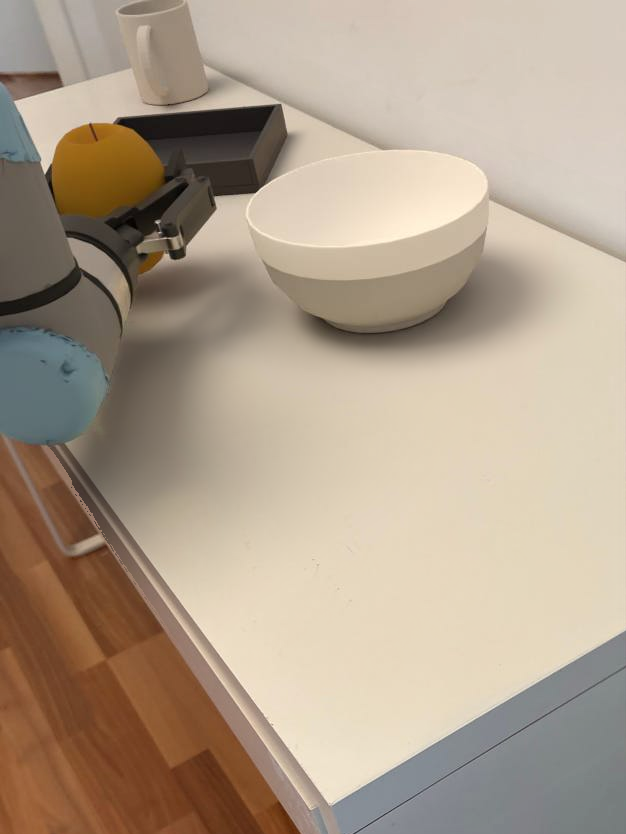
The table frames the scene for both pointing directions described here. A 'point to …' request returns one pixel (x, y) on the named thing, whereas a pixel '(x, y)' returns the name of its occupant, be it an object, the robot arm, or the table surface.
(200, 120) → the tray
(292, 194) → the bowl
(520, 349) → the table surface
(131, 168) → the apple
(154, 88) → the mug
